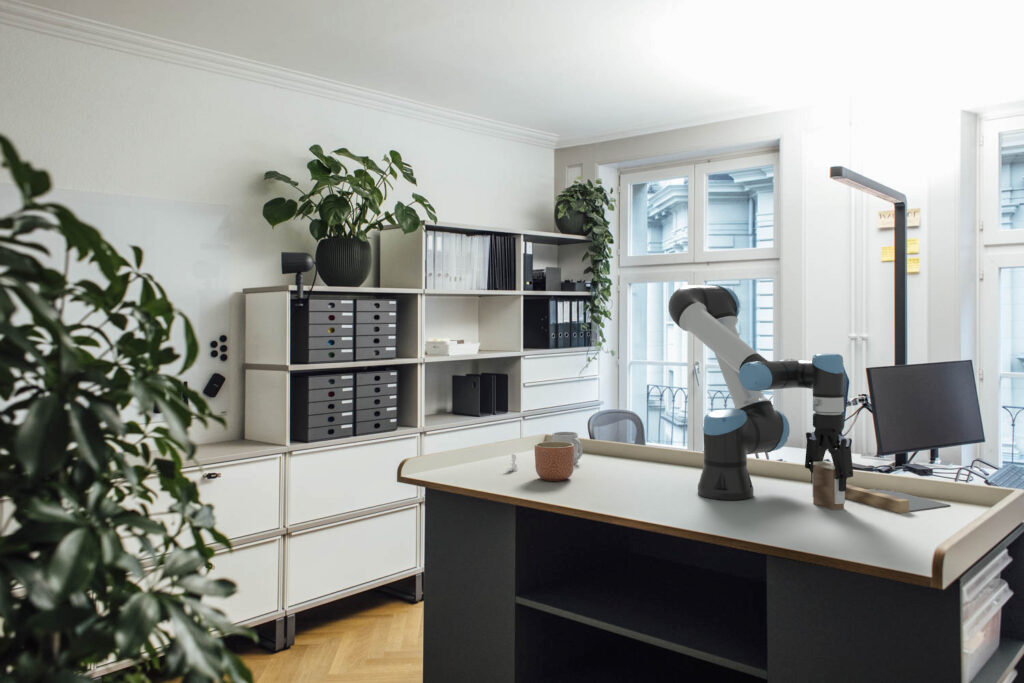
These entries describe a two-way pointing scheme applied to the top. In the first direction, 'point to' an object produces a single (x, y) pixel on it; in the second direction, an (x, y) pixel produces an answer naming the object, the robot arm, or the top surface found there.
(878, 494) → the rail
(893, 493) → the mat
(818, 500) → the slab
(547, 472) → the planter
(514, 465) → the figurine
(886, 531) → the top surface
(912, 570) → the top surface
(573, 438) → the mug
